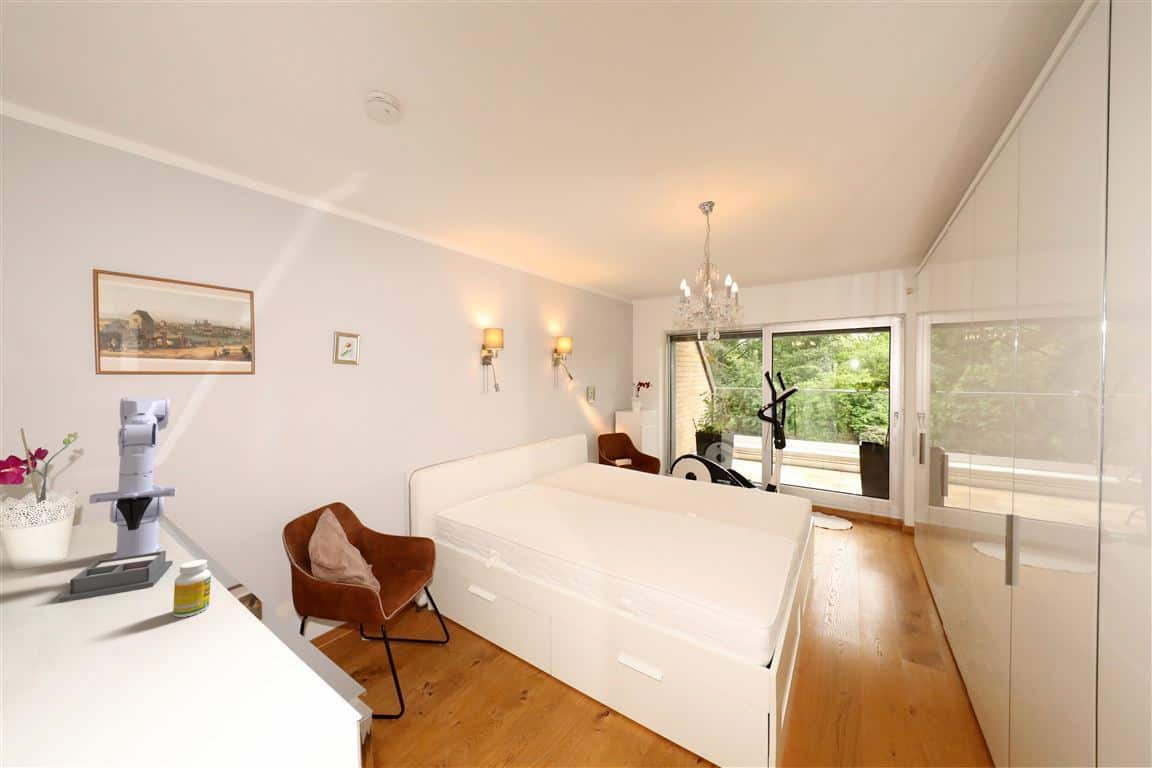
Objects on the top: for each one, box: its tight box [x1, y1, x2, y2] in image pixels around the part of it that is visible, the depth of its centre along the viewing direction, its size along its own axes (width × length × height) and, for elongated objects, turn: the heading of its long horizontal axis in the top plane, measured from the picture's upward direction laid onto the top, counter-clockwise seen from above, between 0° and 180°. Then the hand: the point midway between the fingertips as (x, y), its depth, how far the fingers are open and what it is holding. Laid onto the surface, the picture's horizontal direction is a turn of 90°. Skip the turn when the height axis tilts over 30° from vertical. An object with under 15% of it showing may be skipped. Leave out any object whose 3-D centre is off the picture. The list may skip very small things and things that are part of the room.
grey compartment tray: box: [58, 550, 173, 603], centre depth 93 cm, size 14×14×4 cm
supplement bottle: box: [172, 559, 212, 618], centre depth 82 cm, size 5×5×10 cm
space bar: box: [97, 555, 158, 567], centre depth 96 cm, size 4×10×2 cm, turn 122°
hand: (133, 529), depth 98 cm, fingers closed
